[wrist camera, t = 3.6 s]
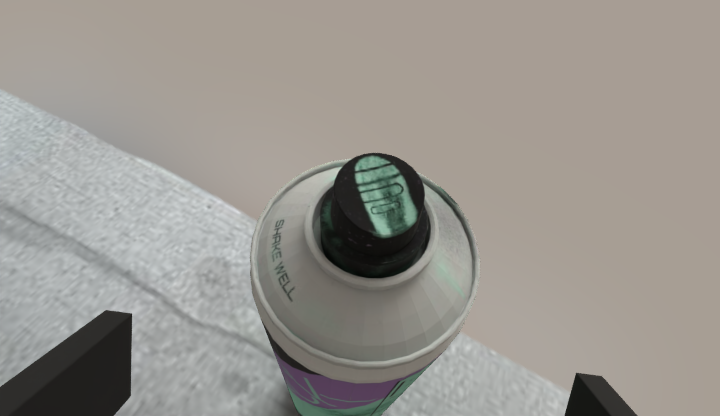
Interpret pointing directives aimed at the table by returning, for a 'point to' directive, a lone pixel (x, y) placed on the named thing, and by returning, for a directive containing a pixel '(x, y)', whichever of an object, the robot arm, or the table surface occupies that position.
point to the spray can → (361, 281)
